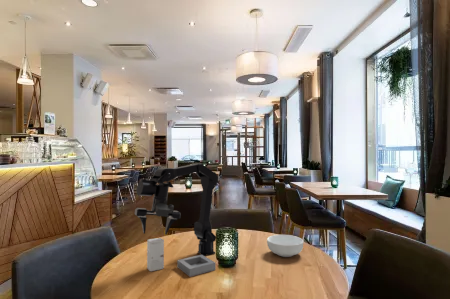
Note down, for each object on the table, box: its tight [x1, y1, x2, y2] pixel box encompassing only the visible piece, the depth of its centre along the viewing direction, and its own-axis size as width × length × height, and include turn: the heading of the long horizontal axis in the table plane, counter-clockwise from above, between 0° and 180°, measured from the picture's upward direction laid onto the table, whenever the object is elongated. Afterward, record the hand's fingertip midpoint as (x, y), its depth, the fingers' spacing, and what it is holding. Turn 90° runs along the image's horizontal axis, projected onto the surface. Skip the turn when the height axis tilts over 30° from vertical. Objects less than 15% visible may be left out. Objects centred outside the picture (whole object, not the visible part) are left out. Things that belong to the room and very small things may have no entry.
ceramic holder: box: [176, 254, 217, 278], centre depth 121 cm, size 12×12×3 cm
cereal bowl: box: [266, 234, 304, 258], centre depth 137 cm, size 17×17×7 cm
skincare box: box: [146, 237, 165, 272], centre depth 121 cm, size 6×4×12 cm
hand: (155, 233), depth 122 cm, fingers open, 9 cm apart
